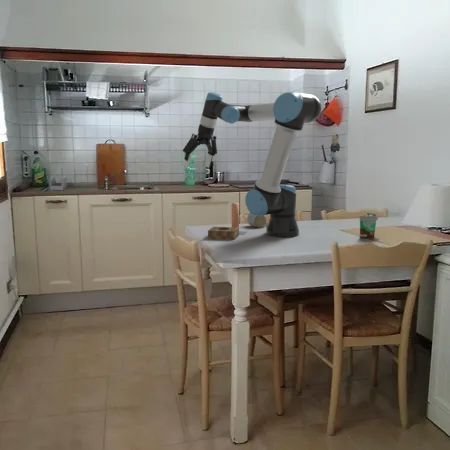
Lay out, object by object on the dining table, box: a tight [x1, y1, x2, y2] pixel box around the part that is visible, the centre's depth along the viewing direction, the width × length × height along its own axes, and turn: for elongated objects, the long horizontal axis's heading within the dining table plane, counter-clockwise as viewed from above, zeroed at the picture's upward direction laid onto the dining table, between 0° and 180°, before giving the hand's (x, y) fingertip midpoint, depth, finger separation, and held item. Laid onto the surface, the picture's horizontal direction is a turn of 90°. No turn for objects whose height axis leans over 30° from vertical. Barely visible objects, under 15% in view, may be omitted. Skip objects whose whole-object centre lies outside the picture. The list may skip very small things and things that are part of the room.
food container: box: [359, 212, 378, 239], centre depth 212 cm, size 12×6×10 cm, turn 148°
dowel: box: [231, 202, 240, 228], centre depth 222 cm, size 3×3×14 cm
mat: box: [239, 230, 248, 236], centre depth 223 cm, size 10×8×1 cm
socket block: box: [207, 226, 240, 241], centre depth 213 cm, size 12×10×4 cm
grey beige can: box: [246, 212, 269, 229], centre depth 240 cm, size 11×8×8 cm
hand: (196, 166), depth 236 cm, fingers open, 13 cm apart
